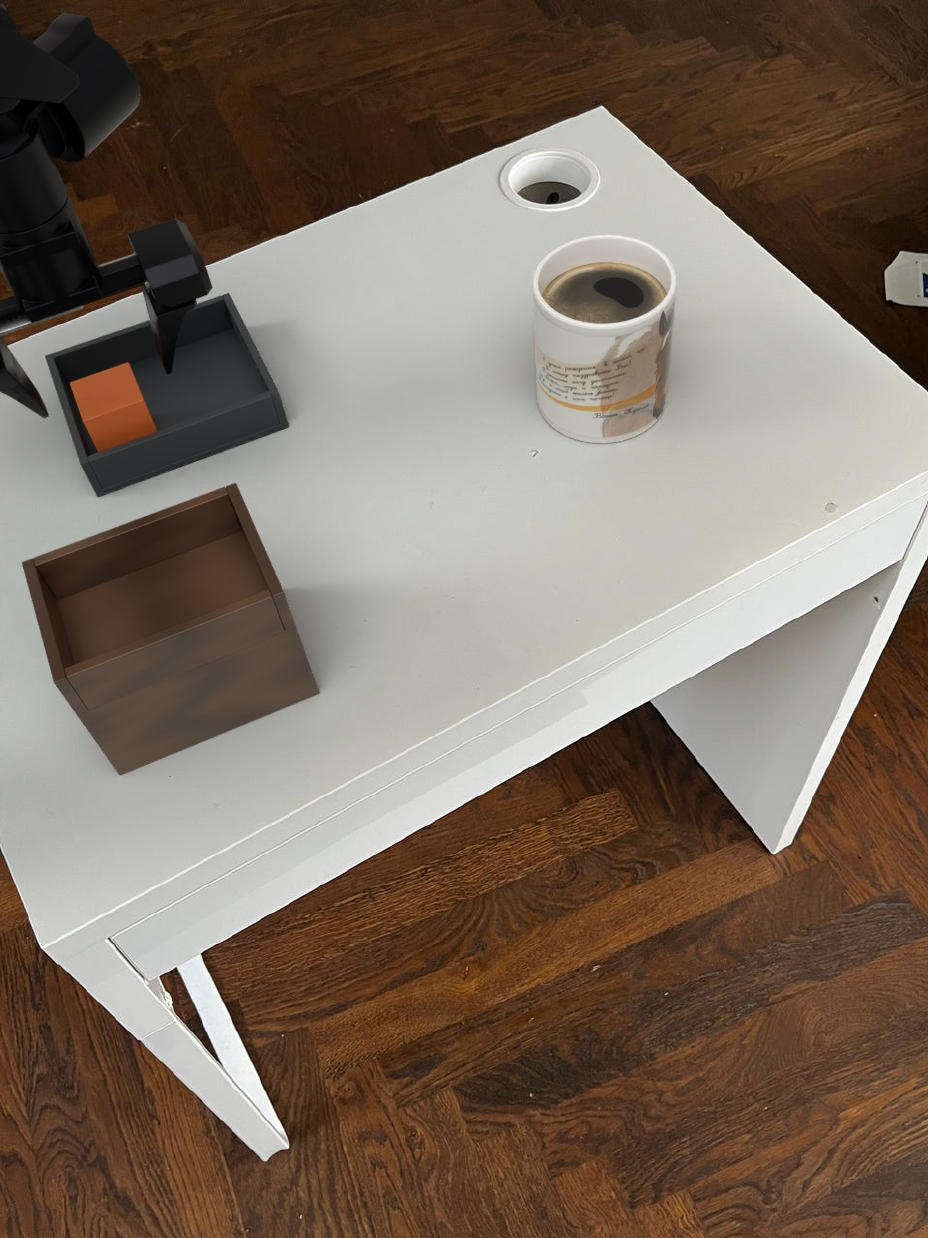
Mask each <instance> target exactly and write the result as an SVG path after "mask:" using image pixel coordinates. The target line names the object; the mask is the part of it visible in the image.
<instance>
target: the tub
mask: <svg viewBox="0 0 928 1238" xmlns="http://www.w3.org/2000/svg"><path fill="white" fill-rule="evenodd" d="M44 359H45V361H46V364H47V368H48V370H49V373H50V376H51V379H52V383H53V385H54V388H55V391H56V394H57V398H58V400H59V403H60V406H61V410H62V413H63V416H64V418H65V422H66V425H67V428H68V430H69V434H70V437H71V440H72V444H73V446H74V449H75V453H76V455H77V457H78V461H79V464H80V466H81V468H82V470H83V472H84V474H85V476H86V478H87V480H88V482H89V483H90V485H91V487H92V490H93V491H94V493H95V495H96V497H97V498H100V497H102V496H105V495H107V494H110V493H113V492H116V491H119V490H122V489H124V488H126V487H129V486H133V485H134V484H137V483H140V482H143V481H145V480H148V479H152V478H153V477H157V476H159V475H162V474H164V473H167V472H170V471H173V470H175V469H178V468H181V467H184V466H187V465H189V464H192V463H195V462H197V461H200V460H203V459H205V458H208V457H211V456H215V455H216V454H219V453H222V452H225V451H228V450H230V449H233V448H236V447H238V446H241V445H244V444H246V443H247V444H248V443H250V442H252V441H255V440H257V439H261V438H263V437H266V436H269V435H271V434H274V433H276V432H279V431H282V430H285V429H287V428H289V427H290V426H289V425H290V424H289V422H288V418H287V414H286V410H285V407H284V405H283V404H284V403H283V401H282V397H281V394H280V391H279V390H278V387H277V385H276V383H275V381H274V380H273V377H272V375H271V373H270V371H269V370H268V367H267V366H266V364H265V361H264V359H263V357H262V356H261V354H260V352H259V350H258V347H257V345H256V344H255V342H254V340H253V337H252V335H251V333H250V332H249V329H248V328H247V326H246V323H245V322H244V320H243V317H242V316H241V313H240V312H239V310H238V307H237V306H236V304H235V302H234V300H233V298H232V296H231V294H230V292H227V293H223V294H222V295H218V296H215V297H213V298H209V299H206V300H204V301H201V302H197V306H196V307H195V308H194V309H193V310H190V311H188V312H186V313H185V315H184V318H183V321H182V324H181V327H180V330H179V333H178V337H177V341H176V348H175V355H174V362H173V369H172V373H170V374H166V371H165V369H164V367H163V364H162V362H161V359H160V357H159V354H158V352H157V349H156V345H155V340H154V336H153V332H152V328H151V324H150V319H149V320H145V321H143V322H139V323H137V324H133V325H131V326H127V327H124V328H122V329H119V330H116V331H113V332H110V333H107V334H104V335H102V336H99V337H96V338H93V339H90V340H87V341H84V342H81V343H78V344H75V345H72V346H70V347H67V348H64V349H60V350H57V351H55V352H52V353H49V354H46V355H44ZM127 362H129V364H130V366H131V368H132V371H133V373H134V376H135V378H136V380H137V383H138V385H139V387H140V390H141V392H142V394H143V397H144V399H145V402H146V404H147V406H148V409H149V411H150V413H151V416H152V418H153V421H154V423H155V426H156V428H157V432H154V433H151V434H148V435H146V436H143V437H140V438H137V439H135V440H132V441H129V442H126V443H123V444H121V445H118V446H115V447H112V448H110V449H107V450H104V451H101V452H98V451H97V449H96V447H95V445H94V443H93V441H92V438H91V436H90V434H89V432H88V430H87V428H86V426H85V424H84V422H83V420H82V417H81V414H80V411H79V408H78V405H77V402H76V400H75V397H74V394H73V391H72V388H71V385H70V382H73V381H76V380H79V379H82V378H85V377H87V376H90V375H93V374H96V373H99V372H102V371H105V370H107V369H110V368H113V367H116V366H119V365H122V364H125V363H127Z"/></svg>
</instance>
